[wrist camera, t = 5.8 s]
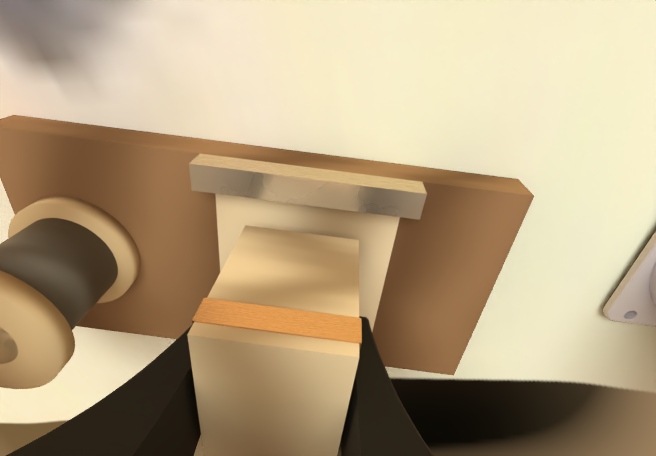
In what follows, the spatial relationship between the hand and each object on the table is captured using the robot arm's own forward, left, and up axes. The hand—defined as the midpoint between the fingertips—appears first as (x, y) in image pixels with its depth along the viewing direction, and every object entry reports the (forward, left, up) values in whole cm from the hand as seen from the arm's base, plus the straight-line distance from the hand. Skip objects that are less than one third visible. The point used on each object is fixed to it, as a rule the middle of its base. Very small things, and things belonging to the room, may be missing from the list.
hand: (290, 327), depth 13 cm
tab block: (0, 0, -1) cm, 1 cm away
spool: (+10, 0, -3) cm, 10 cm away
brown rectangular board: (+2, 0, -4) cm, 5 cm away
